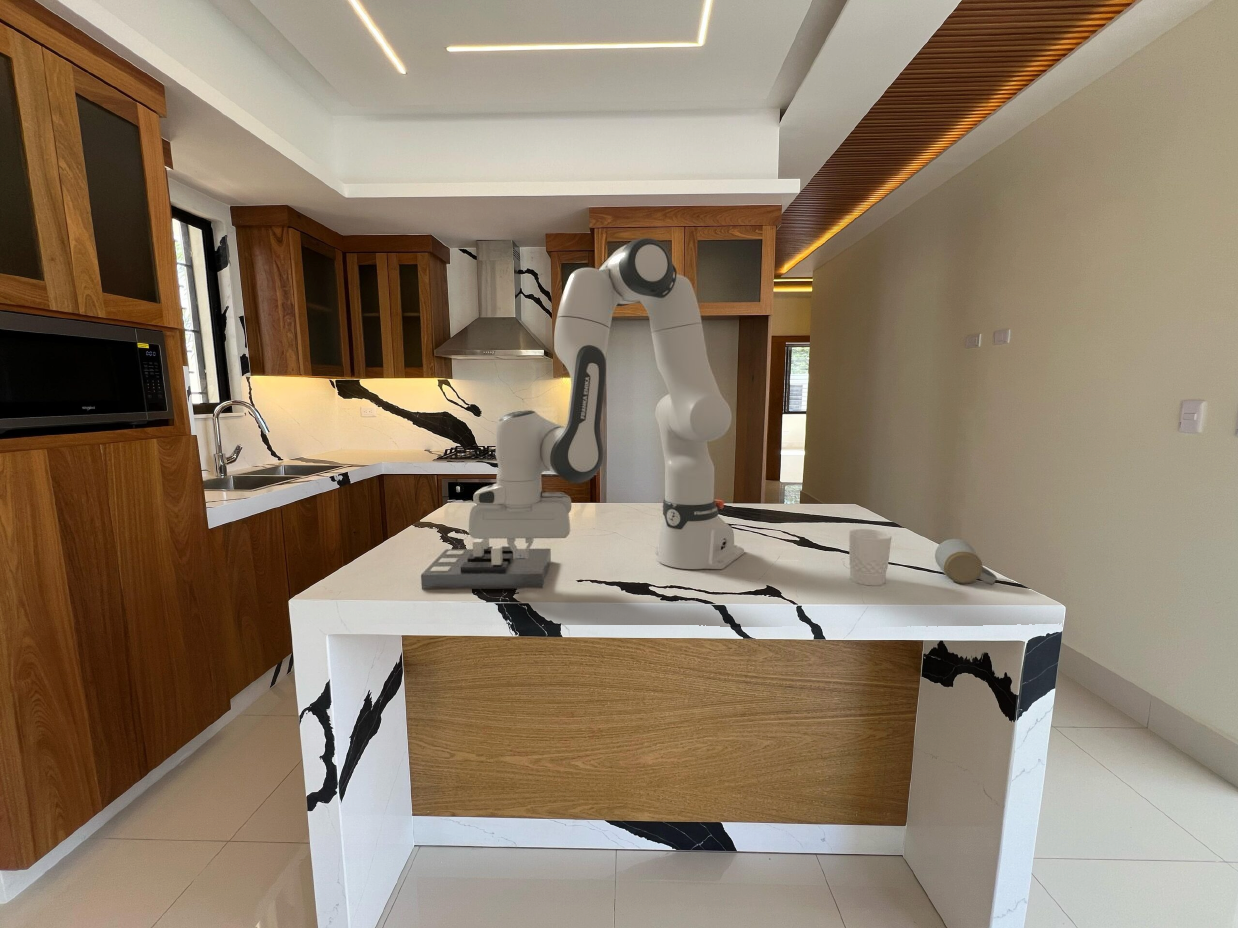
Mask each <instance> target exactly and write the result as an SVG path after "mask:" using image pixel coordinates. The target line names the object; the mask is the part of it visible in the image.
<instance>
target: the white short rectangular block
mask: <svg viewBox="0 0 1238 928" xmlns="http://www.w3.org/2000/svg"><path fill="white" fill-rule="evenodd" d="M483 542H484V549H487V548H488V547H490V538H486V539H483Z"/></svg>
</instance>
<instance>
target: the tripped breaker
mask: <svg viewBox="0 0 1238 928" xmlns="http://www.w3.org/2000/svg"><path fill="white" fill-rule="evenodd" d="M492 547H493V548H492V549H491V560H492V565H501V563H502V561H503V558H502V545H500V546H497V545H496V546H494V545H493V546H492Z"/></svg>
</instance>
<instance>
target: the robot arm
mask: <svg viewBox="0 0 1238 928" xmlns="http://www.w3.org/2000/svg"><path fill="white" fill-rule="evenodd" d="M638 302H640V303H641V304H642V305H643V307H644V309H645V311H646V312H647V315H648V318H649V326H650V332H651V337H652V338H651V339H652V344H653V350H654V355H655V362H656V366H657V370H658V371H659V374H661V376H662V379H663V382H664V384H665V386H666V388H667V392H668V394H666V395H664V396H663V397H662V398H661V399H660V400H659V401H658V402H657V405H656V408H655V410H654V411H655V420H656V422H657V424H658V427H659V428H658V429H659V434H660V441H661V448H662V453H663V458H664V469H665V472H664V473H665V474H664V476H665V477H664V483H665V484H664V495H665V496H664V499H663V500H662V515H663V516H664V517H663V519H661V521H660V529H659V539H658V546H657V547H655V553H656V555H657V557H656V558H657V560H658V562H659V563H660V564H662V565H665V566H667V567H671V568H677V569H683V570H702V569H703V570H705V569H709V570H710V569H711V570H722V569H724V568H725V567H727V566H728V565H730V564H732V563H733V562H734V561H735V560H736V559H738V558H740V557H741V556H742V555H744V554H745V548H743V547H741V546H739V545H737V544H735V533H734V529H733V528H732V527H731V526H730V525H729V524H728V523H727V522H725V520H724V519H722V518H721V517H720V516H719V511H718V509H723V508H724V506H725V501H724V500H723V499H718V498H717V499H714V495H715V466H714V463H713V460H712V458H711V455H710V452H709V448H708V443H707V442H709V443H710V442H713V441H715V440H718V439H720V438H722V437H723V436H724V435H725V434H726V433H727V432H728V431H729V428H730V427H731V423H732V411H731V408H730V405H729V403H728V402H727V401H726V400H725V399H724V397H723V396H722V394H721V391H720V389H719V387H718V386H719V385H718V384H717V381H716V378H715V376H714V374H713V371H712V368H711V366H710V365H711V364H710V362H709V357H708V354H707V346H706V341H705V336H704V335H705V334H704V329H703V322H702V316H701V313H700V312H701V311H700V307H699V304H698V299H697V297H696V293H695V290H694V287H693V285H692V283H691V281H690V280H689V278H687V276H685V275H681V274H678V273H677V268H676V267H675V265H674V263H673V261H672V256H671V255H670V254H669V251H668V250H667V248H666V247H665V246H664V245H663V244H662V243H661V242H660V241H658V240H656V239H655V238H649V237H644V238H637V239H633V240H632V241H630V242H628V243H627V244H625V245H623V246H621V247H619V248H618V249H617V250H615V251H614V252H613V253H612V254H611V255H610V256H609V257H608V258H606V259H605V260H604V261H602V263H601V264H600V265H599V267H598V268H594V267H581V268H578V269H576V270H574V271H573V272H572V273H571V274H570V275H569V277H568V280H567V281H566V283H565V287H564V290H563V292H562V295H561V298H560V302H559V306H558V310H557V314H556V315H557V316H556V319H555V325H554V326H555V327H554V334H553V335H554V336H553V342H554V343H553V345H554V346H553V349H554V352H555V355H556V356H557V358H558V359H559V361H560V362H561V363H562V364H563V365H564V367H565V368H566V370H567V372H568V373H569V377H570V378H569V379H570V382H571V383H570V396H569V402H568V409H567V410H568V411H567V419H566V424H565V426H563V425H560V424H557V423H555V422H552V421H551V420H548V419H546V418H544V417H543V416H541V415H540V414H538V413H537V412H536V411H535V410H530V409H529V410H520V411H519V410H518V411H513V412H509V413H507V414H504V415H502V417H500V419H499V420H498V422H497V425H496V431H495V433H496V434H495V458H496V461H497V474H496V483H493V484H490V485H487V486H483V487H481V488H480V489H478V490H476V491H475V492H474V494H473V495H472V496H473V497H472V499H473V503H474V505H473V506H472V507H471V509H470V512H469V517H468V534H469V536H470V537H471V539H473V540H475V539H486V538H489V539H506V544H507V545H508V546H509V547H510V549H511V550H512V551H513V559H528V557H529V549H531V546H533V543H534V540H535V539H566V538H568V536H569V535H570V533H571V521H570V520H571V519H570V512H571V511H572V499H571V497H570V496H569V495H568V494H566V493H564V492H563V491H562V492H561V491H557V492H551V491H542V474H543V472H551V473H553V474H556V475H557V476H559V477H560V478H561V479H563V480H564V481H566V482H569V483H571V484H581V483H584V482H587V481H589V480H591V479H592V478H594V477H595V475H597V473H599V470H600V469H601V467H602V464H603V461H604V447H603V446H604V445H603V441H602V436H601V423H602V421H601V420H602V411H603V403H604V391H605V383H606V365H607V362H606V360H607V357H606V356H607V350H608V342H609V336H610V332H611V327H612V319H613V314H614V311H615V309H616V307H623V306H629V305H632V304H635V303H638ZM517 539H525V544H526V547H525V548H518V547H516V546H517V545H516V543H515V542H516V540H517Z"/></svg>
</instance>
